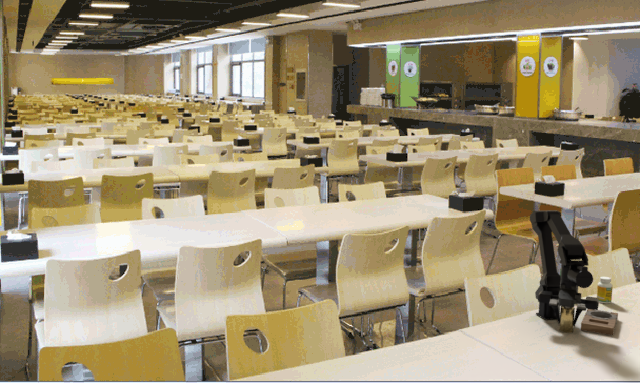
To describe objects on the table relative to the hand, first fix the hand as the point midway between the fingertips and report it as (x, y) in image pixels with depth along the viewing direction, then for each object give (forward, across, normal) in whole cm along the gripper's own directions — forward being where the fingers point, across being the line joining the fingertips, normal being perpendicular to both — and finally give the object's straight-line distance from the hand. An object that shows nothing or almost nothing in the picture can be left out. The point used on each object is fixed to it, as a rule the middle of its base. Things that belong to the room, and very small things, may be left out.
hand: (566, 324), depth 217 cm
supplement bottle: (+2, +10, +41) cm, 43 cm away
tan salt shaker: (+2, 0, 0) cm, 2 cm away
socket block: (+2, +10, +12) cm, 15 cm away
